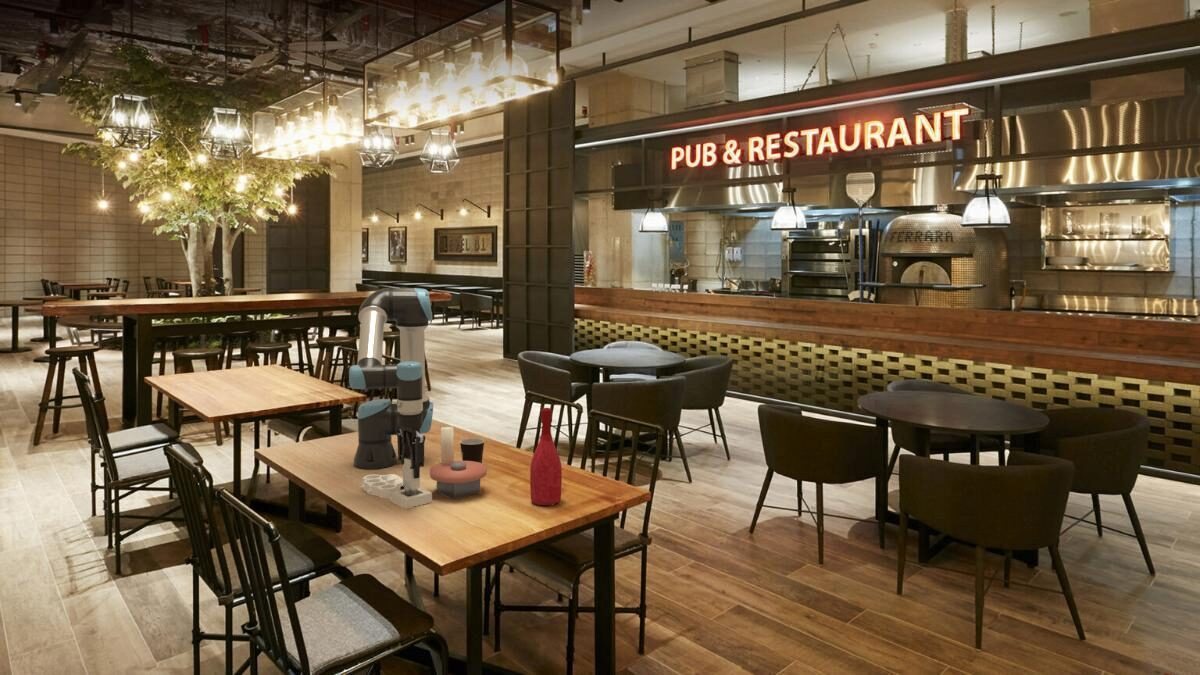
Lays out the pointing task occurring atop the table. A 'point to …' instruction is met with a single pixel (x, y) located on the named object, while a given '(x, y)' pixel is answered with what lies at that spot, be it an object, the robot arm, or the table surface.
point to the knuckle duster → (382, 484)
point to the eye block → (411, 498)
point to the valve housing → (458, 489)
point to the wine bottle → (545, 466)
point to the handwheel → (455, 463)
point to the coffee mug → (472, 450)
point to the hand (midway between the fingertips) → (411, 486)
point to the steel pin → (408, 478)
